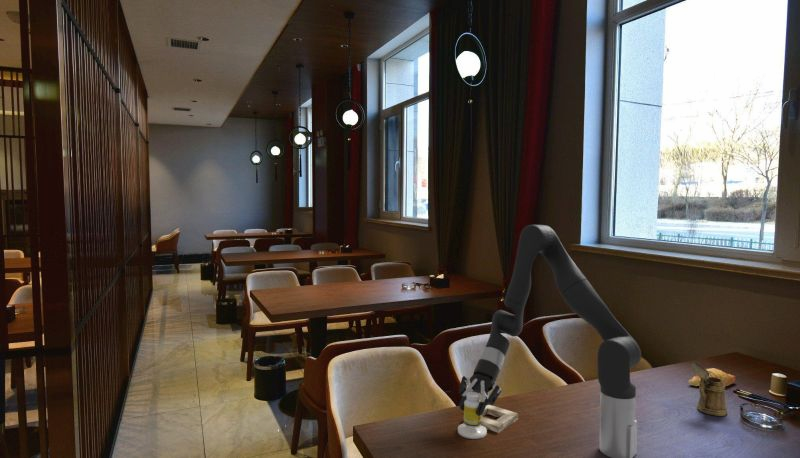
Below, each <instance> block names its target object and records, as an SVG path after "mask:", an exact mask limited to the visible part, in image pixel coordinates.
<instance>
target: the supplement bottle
mask: <svg viewBox="0 0 800 458" xmlns="http://www.w3.org/2000/svg"><path fill="white" fill-rule="evenodd" d="M466 398H467V399H466V400H465V402H464V411H463V423H464V425H465V426H466V427H469V428H478V427H480V426H481V416H478V415H477V414H476V410H477V408H478V406H479V403H480V402H481V400H480V393H476V392H468V393H467V394H466Z"/></svg>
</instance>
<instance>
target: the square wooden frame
mask: <svg viewBox="0 0 800 458" xmlns="http://www.w3.org/2000/svg"><path fill="white" fill-rule="evenodd" d="M486 415H490V416H493V417H495V418H496V417H497V419H491V418H488V417H484V416H486ZM518 420H519V413H518V412H514V411H511V410H508V409H504V408H501V407H498V406H495V405H492V406H491V405H487V406H486V407H485V410H484V412H483V414H482V415H481V425H483V426H484V427H485V428H486V429H487V430H490V431H492V432H495V433H497V434H499V433H501V432H502V431H504V430H505V429H507V427H509V426H511V425H512V424H513V423H515V422H516V421H518Z"/></svg>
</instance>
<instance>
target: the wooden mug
mask: <svg viewBox="0 0 800 458" xmlns="http://www.w3.org/2000/svg"><path fill="white" fill-rule="evenodd" d="M690 368H691V370H692V372H693V373H694V374H695V376H698V377H700V379H701V380H700V385H699V387H698V388H699V389H698V390H699V391H698V392H699V398H698V402H697V403H696V404H697V405H696V409H697V410H698V411H699V412H701V413H704V414H706V415H710V416H713V415H714V417H725V416H727V415H728V408H727V405H726V403H727V402H726V396H725V391H726V387H725V386H724V384H723V380H721V379H719V378H716V377H710V376H709V373H708V372H707V370H706V369H707V368H705V367H703V366H702V365H700V364H698V363H697V362H693V363H691V364H690ZM726 414H727V415H726Z"/></svg>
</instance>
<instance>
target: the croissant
mask: <svg viewBox="0 0 800 458" xmlns="http://www.w3.org/2000/svg"><path fill="white" fill-rule="evenodd" d="M705 369H706V370H707V372H708V373H709V376H710V377H716V378H719V379H721V380H723V384H724V386H725V388H726V386H727V387H729V386H730V385H732V384H734V383H735V381H736V380H737V376H736V375H732V374H730V373H727V372H724V371H723V370H722V369H718V368H714V367H711V368H709V367H708V368H705ZM700 380H701V379H700V377H698V376H697V375H694V376H693V377H692V378H690V379H689V380H688V384H689V385H691V386H693V387H697V386H699V385H700Z"/></svg>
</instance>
